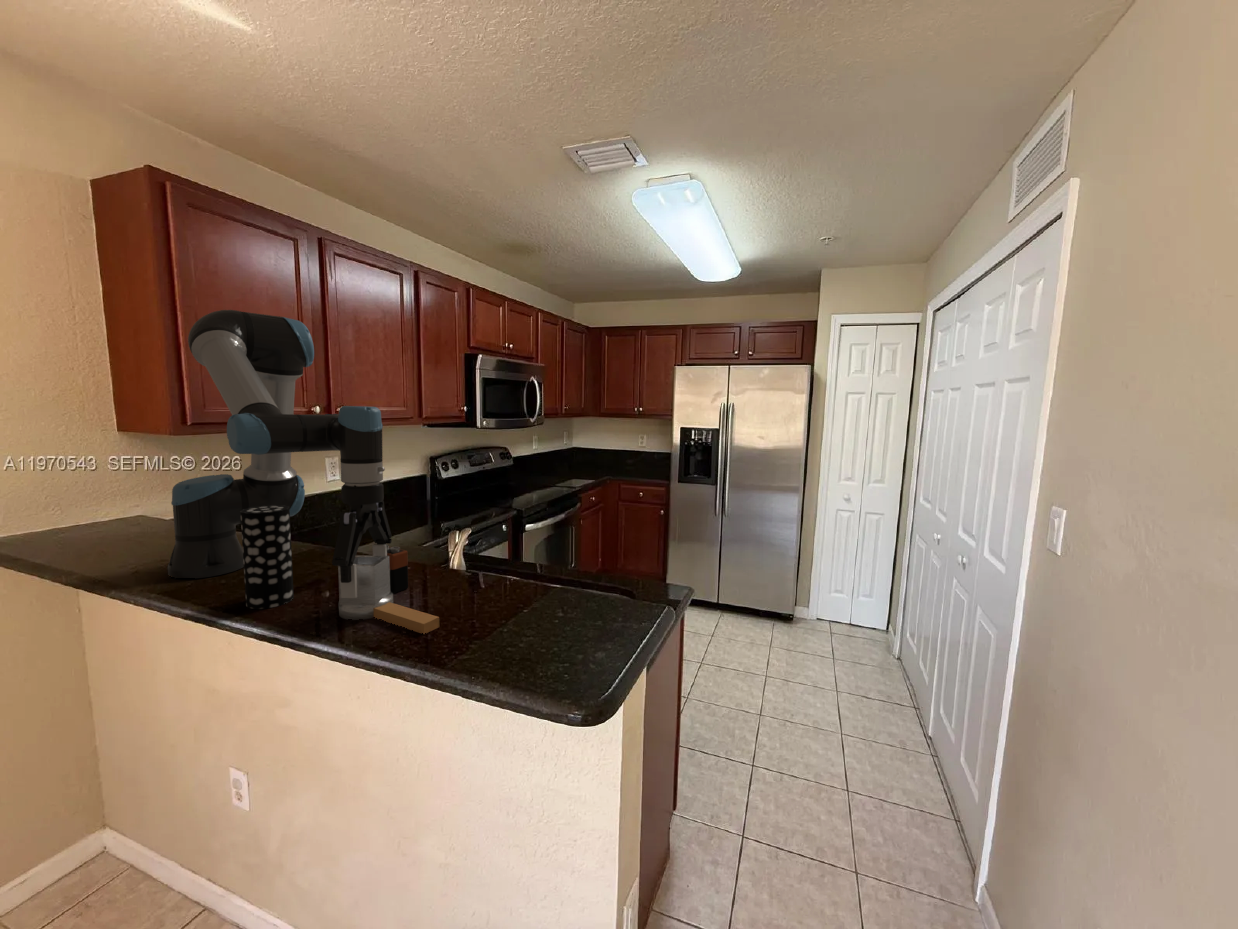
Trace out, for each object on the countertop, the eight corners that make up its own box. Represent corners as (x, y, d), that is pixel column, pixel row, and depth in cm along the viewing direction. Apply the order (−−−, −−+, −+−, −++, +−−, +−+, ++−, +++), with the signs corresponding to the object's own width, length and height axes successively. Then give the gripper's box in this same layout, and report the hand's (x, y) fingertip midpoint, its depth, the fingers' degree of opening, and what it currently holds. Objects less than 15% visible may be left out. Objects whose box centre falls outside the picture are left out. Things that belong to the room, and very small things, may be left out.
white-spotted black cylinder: (289, 591, 110) (284, 503, 108) (297, 602, 104) (293, 509, 102) (243, 600, 104) (237, 508, 102) (249, 612, 98) (243, 515, 96)
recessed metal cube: (339, 604, 97) (338, 565, 96) (356, 591, 104) (355, 555, 103) (375, 605, 98) (374, 566, 97) (390, 592, 105) (389, 555, 104)
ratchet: (328, 613, 99) (327, 584, 98) (372, 597, 108) (372, 570, 107) (409, 641, 88) (408, 609, 87) (451, 620, 97) (451, 591, 96)
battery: (392, 594, 110) (391, 551, 108) (373, 588, 113) (371, 546, 112) (409, 588, 113) (408, 546, 112) (389, 583, 117) (388, 542, 115)
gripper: (350, 493, 86) (354, 609, 88) (405, 475, 111) (407, 565, 113) (306, 493, 86) (312, 609, 88) (372, 474, 111) (374, 565, 113)
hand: (365, 584), depth 101 cm, fingers open, 13 cm apart
